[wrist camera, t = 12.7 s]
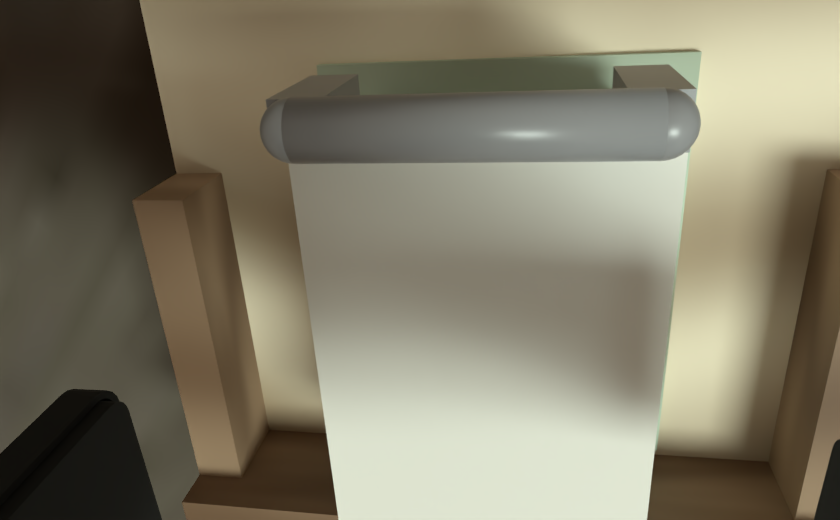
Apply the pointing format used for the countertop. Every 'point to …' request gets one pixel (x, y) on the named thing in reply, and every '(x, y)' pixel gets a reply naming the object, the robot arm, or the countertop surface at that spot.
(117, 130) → the countertop surface
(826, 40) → the dock
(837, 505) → the robot arm
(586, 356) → the cream rod-topped slab
